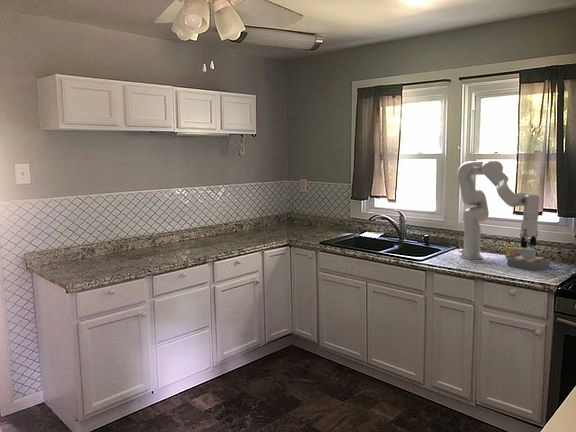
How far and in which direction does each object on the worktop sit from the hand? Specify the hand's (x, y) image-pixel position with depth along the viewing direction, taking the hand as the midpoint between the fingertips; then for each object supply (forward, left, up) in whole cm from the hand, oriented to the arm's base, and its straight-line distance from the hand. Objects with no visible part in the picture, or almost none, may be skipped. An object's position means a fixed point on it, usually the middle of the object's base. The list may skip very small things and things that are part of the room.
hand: (528, 246), depth 280 cm
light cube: (+1, 0, -7) cm, 6 cm away
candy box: (-11, +12, -13) cm, 21 cm away
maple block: (+1, 0, -12) cm, 11 cm away
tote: (+1, 0, -13) cm, 12 cm away
